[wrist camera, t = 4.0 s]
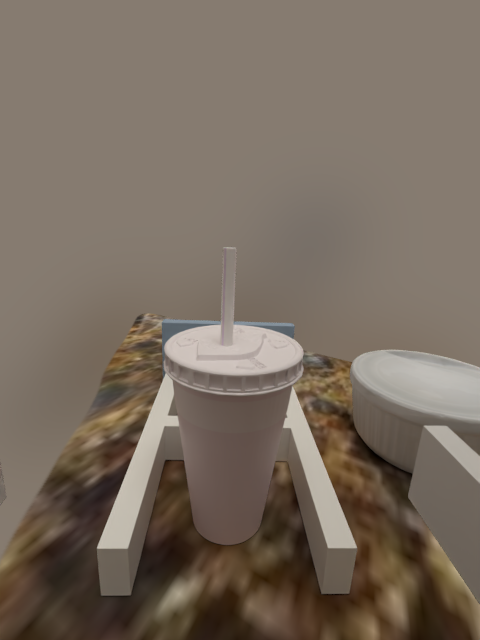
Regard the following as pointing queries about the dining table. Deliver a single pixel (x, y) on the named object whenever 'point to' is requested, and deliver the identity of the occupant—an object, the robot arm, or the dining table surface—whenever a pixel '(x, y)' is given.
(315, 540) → the drawer frame
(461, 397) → the ramekin
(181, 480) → the dining table surface
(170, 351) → the smoothie
